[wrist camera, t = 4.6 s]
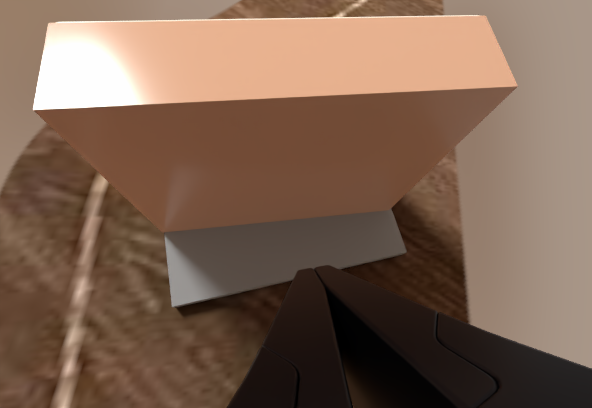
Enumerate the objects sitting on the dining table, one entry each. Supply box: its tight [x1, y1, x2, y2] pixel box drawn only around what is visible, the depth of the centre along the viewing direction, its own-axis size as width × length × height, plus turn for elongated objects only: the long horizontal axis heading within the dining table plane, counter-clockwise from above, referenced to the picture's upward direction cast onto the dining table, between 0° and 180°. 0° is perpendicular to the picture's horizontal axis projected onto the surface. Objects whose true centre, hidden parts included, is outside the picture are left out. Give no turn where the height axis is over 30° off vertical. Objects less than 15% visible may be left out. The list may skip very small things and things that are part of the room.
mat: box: [164, 209, 407, 308], centre depth 17 cm, size 9×11×1 cm
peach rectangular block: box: [33, 15, 517, 232], centre depth 12 cm, size 3×11×9 cm, turn 97°
